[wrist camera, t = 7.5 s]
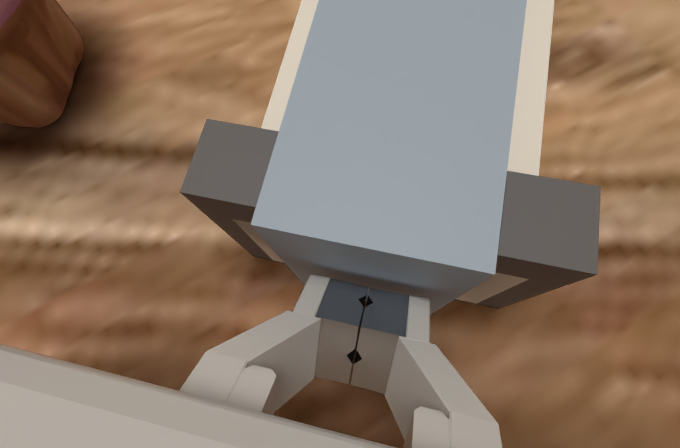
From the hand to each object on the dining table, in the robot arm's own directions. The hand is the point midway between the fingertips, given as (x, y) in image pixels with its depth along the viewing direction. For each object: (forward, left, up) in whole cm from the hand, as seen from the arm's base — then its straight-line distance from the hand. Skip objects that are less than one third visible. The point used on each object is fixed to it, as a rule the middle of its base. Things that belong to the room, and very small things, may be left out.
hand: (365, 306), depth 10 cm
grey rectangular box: (+5, -4, -4) cm, 8 cm away
